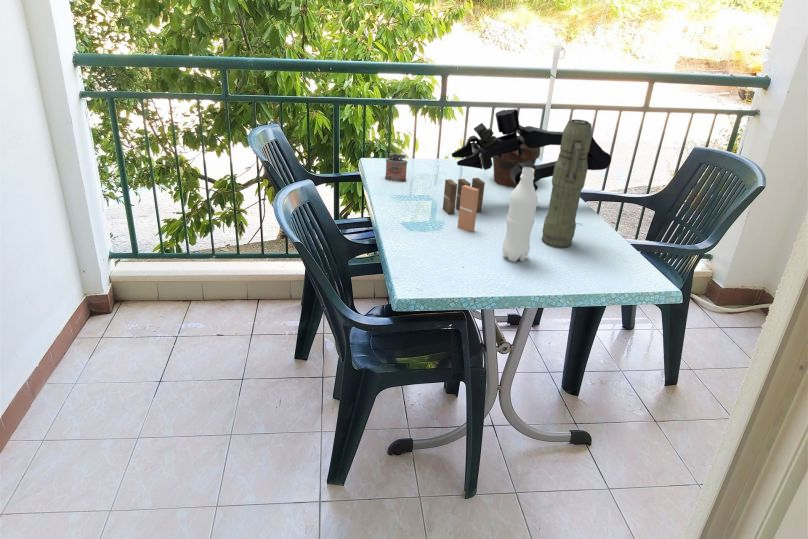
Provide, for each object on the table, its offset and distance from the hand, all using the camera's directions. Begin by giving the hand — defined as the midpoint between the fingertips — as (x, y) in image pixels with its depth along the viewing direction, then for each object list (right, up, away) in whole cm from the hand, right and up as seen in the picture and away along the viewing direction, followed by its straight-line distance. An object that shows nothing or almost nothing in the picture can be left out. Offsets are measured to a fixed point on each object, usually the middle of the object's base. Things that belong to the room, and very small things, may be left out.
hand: (454, 159), depth 181 cm
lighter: (-19, -2, +28) cm, 34 cm away
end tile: (+3, -23, -10) cm, 25 cm away
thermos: (+29, -27, -15) cm, 42 cm away
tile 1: (+7, -16, +5) cm, 18 cm away
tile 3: (-2, -17, +2) cm, 17 cm away
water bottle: (+14, -32, -27) cm, 44 cm away
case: (+25, -2, +34) cm, 42 cm away
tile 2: (+3, -16, +3) cm, 17 cm away
